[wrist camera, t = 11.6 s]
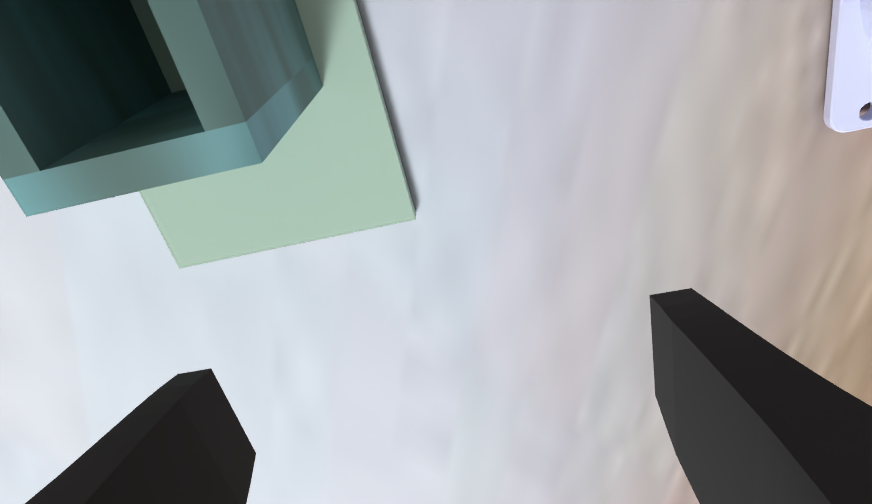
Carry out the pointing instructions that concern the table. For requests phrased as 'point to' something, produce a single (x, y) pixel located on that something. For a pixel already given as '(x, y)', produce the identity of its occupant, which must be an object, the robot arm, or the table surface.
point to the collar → (143, 94)
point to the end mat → (294, 158)
